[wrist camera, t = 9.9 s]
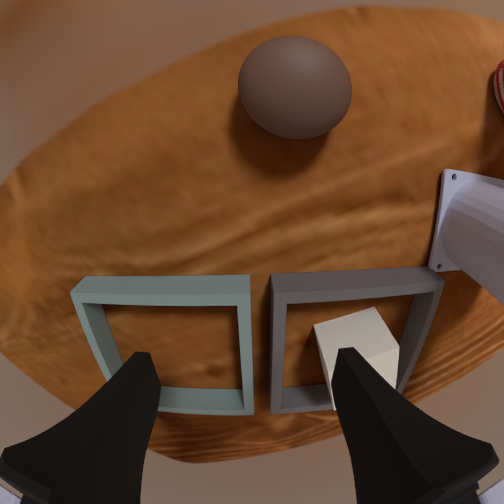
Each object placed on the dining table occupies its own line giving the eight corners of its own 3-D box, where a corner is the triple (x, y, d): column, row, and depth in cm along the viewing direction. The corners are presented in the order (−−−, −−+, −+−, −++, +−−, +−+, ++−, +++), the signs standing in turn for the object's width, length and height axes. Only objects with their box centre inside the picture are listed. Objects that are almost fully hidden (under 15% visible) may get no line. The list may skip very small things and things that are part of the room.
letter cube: (373, 305, 20) (399, 347, 16) (375, 349, 22) (395, 390, 18) (313, 324, 21) (328, 371, 16) (321, 366, 23) (334, 411, 18)
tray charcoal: (428, 266, 19) (445, 280, 17) (392, 377, 24) (400, 395, 22) (270, 273, 19) (273, 293, 17) (268, 393, 24) (270, 414, 22)
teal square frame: (249, 274, 19) (250, 293, 17) (253, 393, 24) (254, 415, 22) (85, 276, 19) (69, 292, 17) (126, 387, 24) (119, 405, 22)
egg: (232, 130, 16) (226, 127, 12) (247, 40, 13) (247, 14, 10) (331, 148, 16) (354, 152, 12) (344, 61, 14) (369, 43, 10)
